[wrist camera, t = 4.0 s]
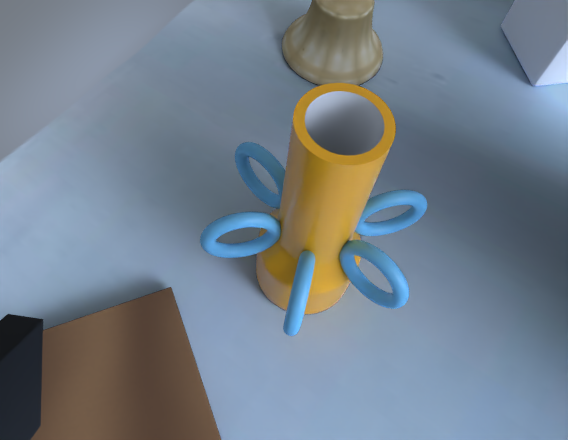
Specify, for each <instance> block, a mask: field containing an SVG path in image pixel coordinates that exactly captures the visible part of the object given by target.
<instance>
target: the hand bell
mask: <svg viewBox="0 0 568 440" xmlns="http://www.w3.org/2000/svg"><path fill="white" fill-rule="evenodd" d="M374 3H375V2H374V0H312V2H311V5H310V7H309V10H308V11H307V13H306V14H304V15H302V16H301V17H299V18H298V19H296V20H295V21H294V22H293V23H292V24H291V25H290V26H289V27H288V29H287V30H286V32H285V34H284V36H283V40H282V51H283V54H284V57H285V59H286V61H287V63H288V64H289V66H290V67H291V68H292V69H293V70H294V71H295V72H296V73H297V74H298V75H299V76H301V77H302V78H304V79H306V80H307V81H309V82H312V83H314V84H317V85H324V84H329V83H348V84H353V85H360V84H363V83H364V82H366V81H368V80H369V79H371V78H372V77H374V76H375V75H376V73H377V72H378V70H379V69H380V67H381V64H382V61H383V49H382V45H381V42H380V39H379V37H378V35H377V34H376V32H375V31H374V30H373V29H372V17H373V9H374Z"/></svg>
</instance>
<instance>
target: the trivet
mask: <svg viewBox="0 0 568 440" xmlns="http://www.w3.org/2000/svg"><path fill="white" fill-rule="evenodd" d="M31 440H221V438H220V435H219V431H218V428H217V425H216V422H215V419H214V416H213V413H212V410H211V407H210V404H209V401H208V398H207V395H206V392H205V389H204V386H203V383H202V380H201V377H200V374H199V370H198V367H197V364H196V361H195V358H194V355H193V352H192V349H191V346H190V343H189V340H188V337H187V334H186V331H185V328H184V325H183V322H182V319H181V316H180V313H179V309H178V306H177V303H176V300H175V297H174V294H173V291H172V288H171V287H169V288H166V289H163V290H160V291H158V292H155V293H152V294H149V295H146V296H143V297H140V298H137V299H134V300H131V301H128V302H125V303H122V304H119V305H116V306H113V307H110V308H107V309H104V310H102V311H99V312H96V313H93V314H90V315H87V316H84V317H81V318H78V319H75V320H72V321H69V322H66V323H63V324H60V325H57V326H54V327H51V328H48V329H46V330H43V346H42V391H41V426H40V427H39V429H38V430H37V432H36V433H35V434H34V436H33V437H32V438H31Z"/></svg>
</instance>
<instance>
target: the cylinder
mask: <svg viewBox="0 0 568 440" xmlns="http://www.w3.org/2000/svg"><path fill="white" fill-rule="evenodd" d="M395 133H396V124H395V120H394V116H393V114H392V112H391V110H390V109H389V107H388V106H387V104H386V103H385V102H384V101H383V100H382V99H381V98H380V97H378V96H377V95H376V94H374V93H373V92H371V91H369V90H367V89H365V88H363V87H360V86H357V85H353V84H348V83H329V84H324V85H321V86H318V87H316V88H313V89H312V90H310V91H308V92H307V93H306V94H305V95H304V96H303V97H302V98H301V99H300V100H299V102H298V103H297V105H296V107H295V110H294V115H293V122H292V129H291V136H290V142H289V149H288V156H287V163H286V170H284V168H283V167H282V165H281V164H280V163H279V161H278V160H277V159H276V158H275V157H274V156H273V155H272V154H271V153H270V152H269V151H268V150H266V149H265V148H264V147H262V146H260V145H258V144H256V143H253V142H245V143H242V144H240V145H239V146H238V147H237V149H236V152H235V162H236V166H237V169H238V171H239V173H240V175H241V177H242V179H243V180H244V182H245V183H246V185H247V186H248V187H249V189H250V190H251V191H252V192H253V193H254V194H255V195H256V196H257V197H258V198H259V199H260V200H261V201H263V202H264V203H265V204H267V205H269V206H271V207H273V208H276V209H274V210H273V211H272V212H271V213H270V214H267V213H262V212H240V213H235V214H231V215H227V216H224V217H222V218H219V219H217V220H215V221H214V222H212V223H211V224H209V225H208V226H207V227H206V228H205V229H204V230H203V232H202V234H201V237H200V243H201V246H202V248H203V249H204V250H205V251H206V252H207V253H209V254H211V255H214V256H217V257H223V258H237V257H244V256H249V255H253V254H256V253H257V259H256V274H257V279H258V283H259V285H260V287H261V289H262V291H263V292H264V294H265V295H266V296H267V298H268V299H269V300H270V301H271V302H273V303H274V304H275V305H276V306H278V307H280V308H282V309H283V310H286V316H285V321H284V326H283V329H284V332H285V333H286V334H287V335H289V336H294V335H296V334H297V333H298V331H299V329H300V326H301V323H302V319H303V315H304V314H315V313H319V312H322V311H324V310H327V309H329V308H330V307H332V306H333V305H335V304H336V303H337V302H338V301H339V300H340V299H341V297H342V296H343V295H344V293H345V291H346V289H347V288H348V286H349V284H350V282H352V284H353V285H354V286H355V287H356V288H357V289H358V290H359V291H360V292H361V293H362V294H363V295H364V296H366V297H367V298H368V299H370V300H371V301H373V302H374V303H376V304H378V305H380V306H383V307H386V308H391V309H396V308H400V307H402V306H403V305H405V303H406V302H407V300H408V298H409V287H408V284H407V281H406V279H405V277H404V275H403V273H402V272H401V270H400V269H399V267H398V266H397V265H396V264H395V262H394V261H393V260H392V259H391V258H390V257H389V256H388V255H386V254H385V253H384V252H383V251H381V250H380V249H379V248H377V247H375V246H374V245H372V244H370V243H368V242H365V241H361V238H360V235H364V236H379V235H385V234H390V233H393V232H396V231H399V230H401V229H404V228H406V227H408V226H410V225H412V224H413V223H415V222H416V221H417V220H419V219H420V218H421V217H422V216H423V214H424V213H425V211H426V209H427V201H426V199H425V197H424V196H423V195H422V194H420V193H419V192H416V191H412V190H395V191H390V192H386V193H382V194H379V195H377V196H374V197H372V198H370V199H369V196H370V194H371V192H372V189H373V187H374V185H375V182H376V180H377V178H378V175H379V173H380V171H381V168H382V166H383V164H384V162H385V159H386V157H387V155H388V152H389V150H390V148H391V145H392V143H393V141H394V138H395ZM249 157H252V158H253V159H255V160H257V161H258V162H259V163H260V164H261V165H262V166H263V167H264V168H265V169H266V170H267V171H268V172H269V174H270V175H271V177H272V178H273V180H274V182H275V183H276V186H277V188H278V192H279V195H277V194H275V193H273V192H271V191H270V190H269V189H268V188H266V187H265V186H264V185H263V184H262V182H261V181H260V180H259V179H258V177H257V176H256V175H255V173H254V171H253V169H252V167H251V165H250V162H249ZM396 205H411V206H412V207H411V208H410V209H409V210H408V211H406V212H405V213H403V214H401V215H399V216H397V217H395V218H392V219H389V220H386V221H381V222H365V219H366V218H367V217H369V216H370V215H372V214H373V213H375V212H377V211H380V210H382V209H385V208H388V207H392V206H396ZM248 227H257V228H261V229H260V233H259V237H258V238H256V239H254V240H251V241H247V242H243V243H235V244H227V243H221V242H218V241H216V239H217V238H218V237H219V236H221V235H222V234H224V233H227V232H229V231H232V230H236V229H240V228H248ZM361 257H363V258H365V259H366V260H368V261H369V262H371V263H372V264H373V265H375V266H376V267H377V268H378V269H379V270H380V271H381V272H382V273H383V274H384V276H385V277H386V278H387V280H388V281H389V283H390V285H391V287H392V290H393V293H387V292H385V291H383V290H381V289H379V288H378V287H376V286H375V285H374V284H372V283H371V282H370V281H369V280H368V279H367V278H366V277H365V276H364V275H363V273H362V272H361V271H360V269H359V268H358V265H359V263H360V259H361Z"/></svg>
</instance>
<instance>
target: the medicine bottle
mask: <svg viewBox="0 0 568 440" xmlns="http://www.w3.org/2000/svg"><path fill="white" fill-rule="evenodd" d="M501 28H502V30H503V32H504V33H505V35H506V37H507V39H508V41H509V43H510V45H511V47H512V48H513V50H514V52H515V54H516V56H517V58H518V60H519V62H520V64H521V65H522V67H523V69H524V71H525V73H526V75H527V77H528V79H529V80H530V82H531V84H532V85H533V86H541V85H550V84H560V83H568V0H515V1H514V2H513V4H512V6H511V8H510V10H509V11H508V13H507V15H506V17H505V18H504V20H503V22H502V24H501Z"/></svg>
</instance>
